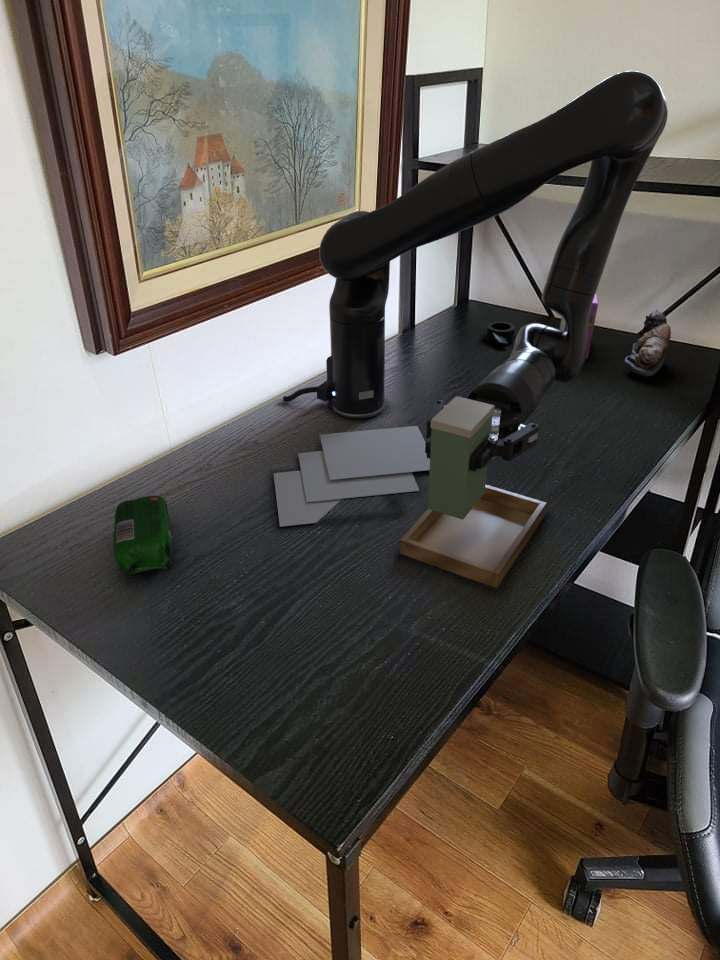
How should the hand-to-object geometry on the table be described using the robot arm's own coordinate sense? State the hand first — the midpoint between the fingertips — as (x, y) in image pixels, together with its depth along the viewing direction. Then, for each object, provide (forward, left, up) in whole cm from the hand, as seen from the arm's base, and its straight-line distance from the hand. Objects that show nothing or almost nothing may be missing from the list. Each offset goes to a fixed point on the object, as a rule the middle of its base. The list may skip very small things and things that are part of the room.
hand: (451, 457), depth 82 cm
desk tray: (0, +10, -18) cm, 21 cm away
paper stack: (-22, +15, -18) cm, 32 cm away
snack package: (-36, -15, -18) cm, 43 cm away
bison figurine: (+7, +76, -18) cm, 79 cm away
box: (-8, +79, -18) cm, 82 cm away
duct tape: (-23, +76, -18) cm, 82 cm away
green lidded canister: (0, +3, -7) cm, 8 cm away
